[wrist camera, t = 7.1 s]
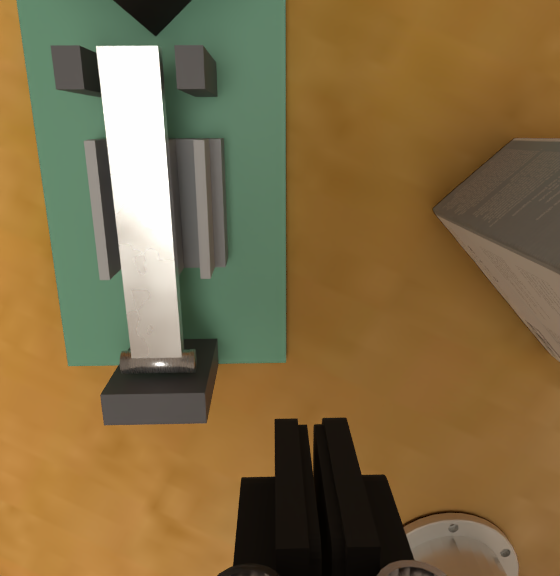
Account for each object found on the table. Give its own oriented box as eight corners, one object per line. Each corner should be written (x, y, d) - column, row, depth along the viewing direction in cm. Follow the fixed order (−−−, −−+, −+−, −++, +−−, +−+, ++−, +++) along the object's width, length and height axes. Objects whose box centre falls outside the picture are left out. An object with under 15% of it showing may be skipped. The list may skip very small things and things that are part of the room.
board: (285, 355, 39) (291, 421, 30) (74, 359, 39) (18, 426, 30) (284, 3, 32) (291, -44, 23) (25, 3, 32) (-68, -44, 23)
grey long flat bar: (197, 365, 32) (194, 376, 31) (127, 366, 32) (121, 377, 31) (176, 48, 26) (171, 45, 25) (89, 48, 26) (80, 45, 25)
